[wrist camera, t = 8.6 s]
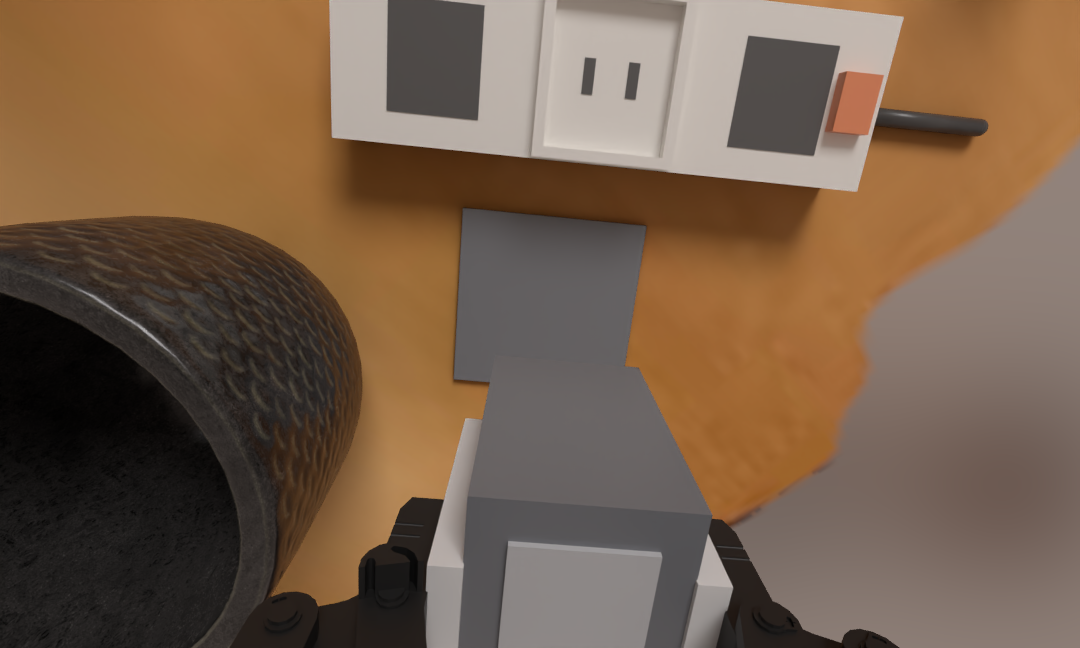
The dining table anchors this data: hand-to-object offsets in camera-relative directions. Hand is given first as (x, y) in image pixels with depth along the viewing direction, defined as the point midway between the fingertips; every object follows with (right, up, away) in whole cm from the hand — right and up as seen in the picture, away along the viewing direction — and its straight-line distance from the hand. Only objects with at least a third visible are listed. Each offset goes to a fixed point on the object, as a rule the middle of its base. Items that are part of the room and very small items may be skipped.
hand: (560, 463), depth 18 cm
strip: (+8, +19, +15) cm, 25 cm away
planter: (-20, +4, +20) cm, 29 cm away
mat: (0, +6, +19) cm, 20 cm away
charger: (0, +1, +2) cm, 2 cm away
